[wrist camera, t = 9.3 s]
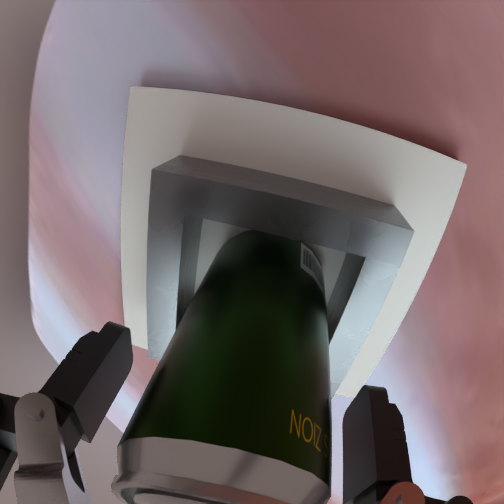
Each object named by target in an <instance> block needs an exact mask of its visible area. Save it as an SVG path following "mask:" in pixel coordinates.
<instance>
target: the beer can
mask: <svg viewBox="0 0 504 504" xmlns="http://www.w3.org/2000/svg"><path fill="white" fill-rule="evenodd" d="M117 463H118V473H119V474H118V475H116V476H115V477H114V480H113V482H112V484H111V489H112V493H114V495H115V496H116V497H117V498H118V499H119V500H120V501H121V502H122V503H124V504H326V503H327V502H328V500H329V499H330V497H331V469H332V417H331V379H330V356H329V338H328V322H327V308H326V295H325V283H324V275H323V270H322V265H321V262H320V261H319V259H318V257H317V256H316V254H315V252H314V251H313V249H312V248H311V247H310V246H308V245H307V244H306V243H305V242H303V241H299V240H294V239H290V238H286V237H282V236H278V235H273V234H269V233H265V232H261V231H256V230H248V231H243V232H242V233H240V234H238V235H236V236H234V237H233V238H231V239H229V240H228V241H227V242H226V243H225V244H224V246H223V247H222V248H221V249H220V250H219V251H218V253H217V254H216V256H215V258H214V260H213V262H212V264H211V265H210V267H209V269H208V271H207V273H206V275H205V276H204V278H203V280H202V282H201V284H200V286H199V288H198V289H197V291H196V293H195V295H194V297H193V299H192V301H191V303H190V304H189V306H188V308H187V310H186V312H185V314H184V316H183V318H182V320H181V321H180V323H179V325H178V327H177V329H176V331H175V333H174V335H173V337H172V339H171V341H170V343H169V344H168V346H167V348H166V350H165V352H164V354H163V356H162V358H161V360H160V362H159V364H158V366H157V368H156V370H155V372H154V374H153V376H152V378H151V380H150V382H149V384H148V386H147V388H146V390H145V391H144V393H143V395H142V397H141V399H140V401H139V403H138V406H137V408H136V410H135V412H134V414H133V416H132V418H131V420H130V422H129V424H128V426H127V428H126V430H125V432H124V434H123V436H122V438H121V440H120V442H119V445H118V447H117Z"/></svg>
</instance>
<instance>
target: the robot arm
mask: <svg viewBox="0 0 504 504" xmlns="http://www.w3.org/2000/svg"><path fill="white" fill-rule="evenodd" d="M132 363H133V352H132V341H131V331H130V328H128V327H125V326H122V325H119V324H116V323H113V322H111V321H109V322H107V323H106V324H105V325H104V327H103V328H102V329H101V331H100V332H99V333H97V332H95V331H91V332H89V333H88V334H86V335H84V336H83V337H81V338H80V339H79V340H78V341H77V343H76V344H75V345H74V346H73V348H72V350H70V352H69V353H68V354H67V355H66V358H65V359H63V361H62V362H61V363H60V365H59V366H58V367H57V369H56V370H55V371H54V373H53V374H52V376H51V377H50V378H49V379H48V381H47V382H46V384H45V385H44V386H43V388H42V389H41V390H40V391H39V392H37V393H29V394H26V395H24V396H22V397H21V398H20V397H14V396H10V395H5V394H2V393H0V490H1V488H2V486H3V484H4V482H5V480H6V478H7V476H8V474H9V472H10V470H11V468H12V466H13V464H14V462H15V460H16V458H17V456H18V461H19V470H18V471H15V473H14V485H15V491H16V496H17V501H18V504H93V503H92V501H91V499H90V497H89V494H88V491H87V487H86V484H85V480H84V477H83V473H82V469H81V465H80V461H79V457H78V453H77V448H76V446H77V444H78V442H79V441H80V439H82V440H84V441H86V442H88V443H91V441H92V439H93V437H94V436H95V434H96V432H97V430H98V428H99V426H100V424H101V423H102V421H103V419H104V417H105V415H106V413H107V412H108V410H109V408H110V406H111V404H112V403H113V401H114V399H115V397H116V396H117V394H118V392H119V390H120V388H121V387H122V385H123V383H124V381H125V380H126V378H127V376H128V374H129V372H130V370H131V367H132ZM343 504H473V503H472V501H471V500H470V499H469V498H467V497H465V496H455V497H453V498H452V499H450V500H448V501H443V500H438V499H434V498H430V497H427V496H425V495H424V494H423V492H422V490H421V489H420V488H419V487H418V486H417V485H416V484H414V483H413V481H412V477H411V469H410V461H409V454H408V447H407V442H406V435H405V431H404V423H403V417H402V415H401V413H400V411H399V410H398V408H397V406H396V405H395V404H392V403H389V400H388V394H387V390H386V389H385V388H384V387H376V386H368V385H364V386H362V388H361V389H360V391H359V392H358V394H357V395H356V397H355V398H354V400H353V401H352V402H351V404H350V405H349V407H348V408H347V410H346V412H345V414H344V418H343Z"/></svg>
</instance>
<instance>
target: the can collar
mask: <svg viewBox="0 0 504 504" xmlns="http://www.w3.org/2000/svg"><path fill="white" fill-rule="evenodd" d="M203 218H204V219H209V220H213V221H217V222H222V223H226V224H231V225H235V226H239V227H244V228H248V229H252V230H256V231H261V232H265V233H269V234H273V235H278V236H282V237H286V238H290V239H294V240H299V241H303V242H307V243H311V244H315V245H319V246H323V247H327V248H331V249H335V250H339V251H343V252H347V253H346V256H345V259H344V262H343V264H342V267H341V270H340V273H339V275H338V278H337V281H336V284H335V286H334V289H333V292H332V294H331V297H330V299H329V302H328V305H327V307H326V308H327V322H328V338H329V356H330V379H331V399H332V398H333V396H334V394H335V393H336V391H337V389H338V388H339V386H340V384H341V383H342V381H343V379H344V378H345V376H346V374H347V372H348V371H349V369H350V367H351V365H352V364H353V362H354V360H355V358H356V356H357V355H358V353H359V351H360V349H361V347H362V345H363V343H364V342H365V340H366V338H367V336H368V334H369V332H370V330H371V328H372V326H373V324H374V322H375V320H376V318H377V316H378V314H379V312H380V310H381V308H382V306H383V304H384V302H385V300H386V297H387V295H388V293H389V291H390V289H391V287H392V284H393V282H394V280H395V278H396V275H397V273H398V271H399V268H400V266H401V264H402V261H403V259H404V257H405V254H406V252H407V249H408V247H409V244H410V242H411V239H412V237H413V234H414V232H415V231H414V230H413V229H412V227H411V226H410V225H409V223H408V222H407V221H406V219H405V218H404V217H403V215H402V214H401V213H400V211H399V210H398V209H397V208H396V206H394V205H391V204H388V203H384V202H381V201H378V200H374V199H371V198H367V197H364V196H360V195H357V194H353V193H350V192H346V191H342V190H339V189H335V188H331V187H327V186H323V185H319V184H315V183H311V182H307V181H303V180H299V179H295V178H291V177H287V176H282V175H278V174H274V173H269V172H265V171H260V170H256V169H251V168H246V167H241V166H236V165H232V164H226V163H221V162H216V161H211V160H206V159H200V158H195V157H189V156H183V155H179V156H177V157H175V158H173V159H171V160H169V161H167V162H165V163H163V164H161V165H159V166H157V167H155V168H153V169H152V170H151V182H150V196H149V212H148V233H147V274H146V300H147V340H148V357H151V358H154V359H157V360H161V358H162V356H163V354H164V352H165V350H166V348H167V346H168V344H169V343H170V341H171V339H172V337H173V335H174V333H175V331H176V329H177V327H178V325H179V323H180V321H181V320H182V318H183V316H184V314H185V312H186V310H187V308H188V306H189V304H190V303H191V301H192V299H193V297H194V290H195V281H196V272H197V263H198V254H199V246H200V237H201V229H202V222H203Z"/></svg>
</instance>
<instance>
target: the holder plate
mask: <svg viewBox="0 0 504 504" xmlns="http://www.w3.org/2000/svg"><path fill="white" fill-rule="evenodd" d="M179 155H183V156H189V157H195V158H200V159H206V160H211V161H216V162H221V163H226V164H232V165H236V166H241V167H246V168H251V169H256V170H260V171H265V172H269V173H274V174H278V175H282V176H287V177H291V178H295V179H299V180H303V181H307V182H311V183H315V184H319V185H323V186H327V187H331V188H335V189H339V190H342V191H346V192H350V193H353V194H357V195H360V196H364V197H367V198H371V199H374V200H378V201H381V202H384V203H388V204H391V205H394V206H396V208H397V209H398V210H399V211H400V213H401V214H402V215H403V217H404V218H405V219H406V221H407V222H408V223H409V225H410V226H411V227H412V229H413V230H414V231H415V232H414V234H413V237H412V239H411V242H410V244H409V247H408V249H407V252H406V254H405V257H404V259H403V261H402V264H401V266H400V268H399V271H398V273H397V275H396V278H395V280H394V282H393V284H392V287H391V289H390V291H389V293H388V295H387V297H386V300H385V302H384V304H383V306H382V308H381V310H380V312H379V314H378V316H377V318H376V320H375V322H374V324H373V326H372V328H371V330H370V332H369V334H368V336H367V338H366V340H365V342H364V343H363V345H362V347H361V349H360V351H359V353H358V355H357V356H356V358H355V360H354V362H353V364H352V365H351V367H350V369H349V371H348V372H347V374H346V376H345V378H344V379H343V381H342V383H341V384H340V386H339V388H338V389H337V391H336V393H335V394H334V395H339V396H346V397H353V398H355V397H356V395H357V394H358V392H359V391H360V389H361V388H362V386H364V384H365V383H366V381H367V380H368V378H369V377H370V375H371V373H372V372H373V370H374V369H375V367H376V365H377V364H378V362H379V361H380V359H381V357H382V356H383V354H384V352H385V351H386V349H387V347H388V345H389V344H390V342H391V340H392V338H393V337H394V335H395V333H396V331H397V330H398V328H399V326H400V324H401V322H402V320H403V318H404V317H405V315H406V313H407V311H408V309H409V307H410V305H411V303H412V301H413V299H414V297H415V295H416V293H417V291H418V289H419V287H420V285H421V283H422V281H423V279H424V277H425V274H426V272H427V270H428V268H429V266H430V264H431V261H432V259H433V257H434V254H435V252H436V250H437V247H438V245H439V243H440V240H441V238H442V235H443V233H444V230H445V228H446V225H447V223H448V220H449V218H450V215H451V212H452V210H453V207H454V204H455V201H456V199H457V196H458V193H459V190H460V187H461V184H462V181H463V178H464V175H465V171H466V168H467V165H466V164H464V163H462V162H460V161H458V160H456V159H453V158H451V157H448V156H446V155H444V154H441V153H439V152H436V151H434V150H431V149H429V148H426V147H423V146H421V145H418V144H415V143H413V142H410V141H407V140H404V139H401V138H399V137H396V136H393V135H390V134H387V133H384V132H381V131H378V130H375V129H371V128H368V127H365V126H362V125H358V124H355V123H351V122H348V121H344V120H341V119H337V118H333V117H330V116H326V115H322V114H318V113H314V112H310V111H306V110H301V109H297V108H293V107H288V106H283V105H279V104H274V103H269V102H263V101H258V100H253V99H247V98H241V97H235V96H228V95H222V94H214V93H207V92H199V91H190V90H181V89H170V88H158V87H143V86H130V94H129V101H128V110H127V119H126V129H125V140H124V152H123V168H122V189H121V272H122V293H123V309H124V322H125V327H128V328H130V331H131V341H132V345H135V346H138V347H141V348H144V349H147V350H148V340H147V300H146V274H147V233H148V212H149V196H150V182H151V170H152V169H153V168H155V167H157V166H159V165H161V164H163V163H165V162H167V161H169V160H171V159H173V158H175V157H177V156H179ZM248 230H252V229H248V228H244V227H239V226H235V225H231V224H226V223H222V222H217V221H213V220H209V219H204V218H203V222H202V229H201V237H200V246H199V254H198V263H197V272H196V281H195V290H194V295H195V293H196V291H197V289H198V288H199V286H200V284H201V282H202V280H203V278H204V276H205V275H206V273H207V271H208V269H209V267H210V265H211V264H212V262H213V260H214V258H215V256H216V254H217V253H218V251H219V250H220V249H221V248H222V247H223V246H224V244H225V243H226V242H227V241H228V240H229V239H231V238H233V237H234V236H236V235H238V234H240V233H242V232H243V231H248ZM305 243H306V244H307V245H308V246H310V247H311V248H312V249H313V251H314V252H315V254H316V256H317V257H318V259H319V261H320V262H321V265H322V270H323V275H324V283H325V295H326V307H327V305H328V302H329V299H330V297H331V294H332V292H333V289H334V286H335V284H336V281H337V278H338V275H339V273H340V270H341V267H342V264H343V262H344V259H345V256H346V253H347V252H343V251H339V250H335V249H331V248H327V247H323V246H319V245H315V244H311V243H307V242H305Z"/></svg>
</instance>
